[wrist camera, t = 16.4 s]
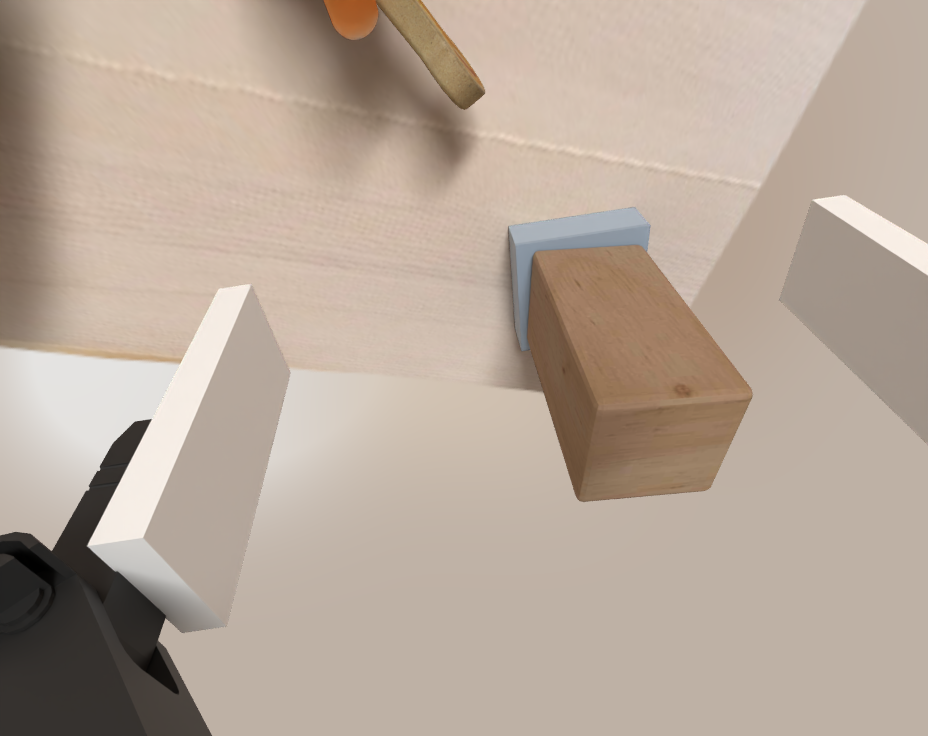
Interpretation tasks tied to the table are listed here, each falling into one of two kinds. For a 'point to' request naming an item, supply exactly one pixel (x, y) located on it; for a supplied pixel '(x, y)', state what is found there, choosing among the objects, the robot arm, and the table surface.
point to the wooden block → (629, 375)
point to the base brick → (566, 235)
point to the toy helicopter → (413, 41)
